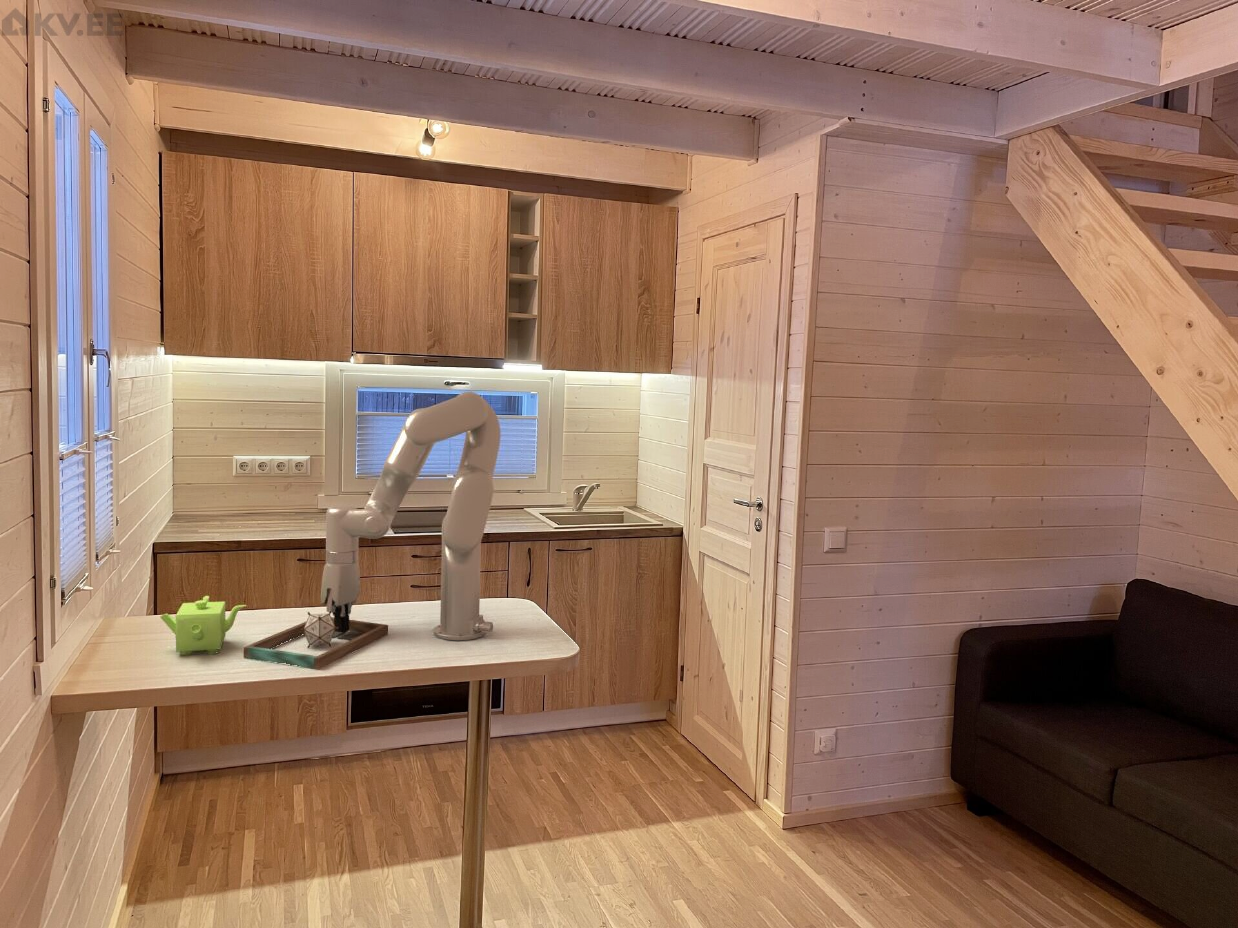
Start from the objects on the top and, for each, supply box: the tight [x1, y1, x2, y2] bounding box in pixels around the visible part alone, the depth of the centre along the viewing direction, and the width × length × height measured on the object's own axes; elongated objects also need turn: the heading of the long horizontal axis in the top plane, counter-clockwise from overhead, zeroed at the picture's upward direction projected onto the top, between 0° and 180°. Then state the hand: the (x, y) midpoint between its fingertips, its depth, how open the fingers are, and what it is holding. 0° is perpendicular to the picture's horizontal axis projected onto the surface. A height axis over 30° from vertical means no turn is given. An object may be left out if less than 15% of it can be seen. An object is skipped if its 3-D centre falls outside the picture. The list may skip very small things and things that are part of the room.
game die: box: [300, 611, 339, 649], centre depth 212 cm, size 9×8×10 cm
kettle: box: [159, 595, 247, 656], centre depth 207 cm, size 15×14×11 cm
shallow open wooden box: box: [243, 616, 389, 670], centre depth 213 cm, size 19×28×2 cm
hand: (341, 630), depth 221 cm, fingers closed
